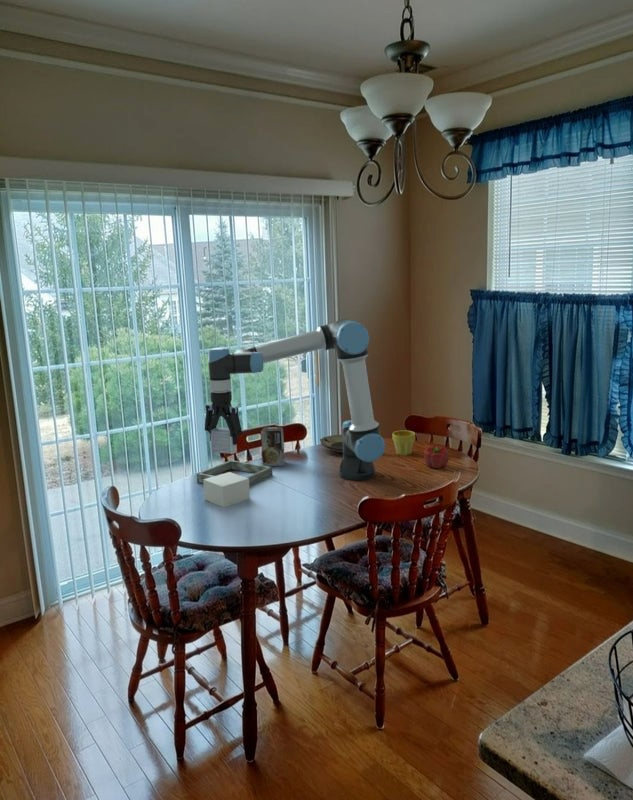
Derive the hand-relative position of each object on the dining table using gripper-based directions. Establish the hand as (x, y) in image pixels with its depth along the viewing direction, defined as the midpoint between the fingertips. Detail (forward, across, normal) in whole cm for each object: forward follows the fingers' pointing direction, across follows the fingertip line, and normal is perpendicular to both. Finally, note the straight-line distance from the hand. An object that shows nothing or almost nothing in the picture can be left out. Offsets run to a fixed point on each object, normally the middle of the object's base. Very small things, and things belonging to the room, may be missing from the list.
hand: (224, 451), depth 222 cm
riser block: (+19, 0, 0) cm, 19 cm away
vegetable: (+18, -54, -72) cm, 92 cm away
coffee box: (+19, +11, -44) cm, 49 cm away
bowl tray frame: (+18, +13, -20) cm, 30 cm away
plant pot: (+18, -33, -85) cm, 93 cm away
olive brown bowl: (+19, -9, -76) cm, 79 cm away
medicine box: (0, 0, 0) cm, 0 cm away
